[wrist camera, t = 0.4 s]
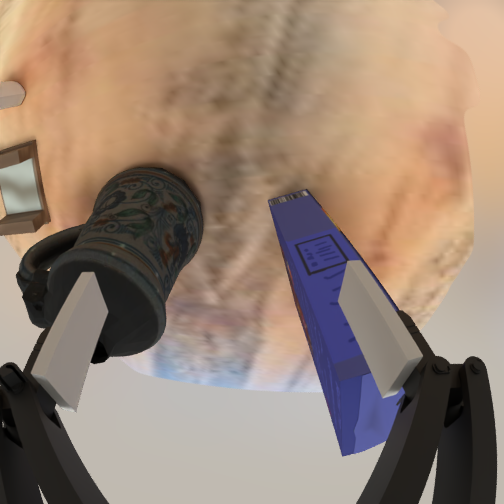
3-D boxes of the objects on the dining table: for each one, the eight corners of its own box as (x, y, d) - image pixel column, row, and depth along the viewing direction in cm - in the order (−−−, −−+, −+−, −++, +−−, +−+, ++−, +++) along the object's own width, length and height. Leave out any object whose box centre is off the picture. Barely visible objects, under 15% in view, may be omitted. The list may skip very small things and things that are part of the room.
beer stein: (218, 248, 44) (221, 392, 22) (114, 278, 45) (66, 402, 23) (182, 146, 35) (124, 228, 14) (70, 193, 36) (-31, 295, 15)
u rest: (-3, 152, 29) (-21, 160, 25) (35, 139, 30) (17, 147, 26) (13, 225, 37) (-2, 238, 32) (50, 221, 38) (36, 235, 33)
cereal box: (326, 296, 51) (387, 442, 26) (295, 306, 52) (342, 458, 26) (306, 189, 40) (425, 350, 15) (267, 200, 40) (340, 384, 15)
